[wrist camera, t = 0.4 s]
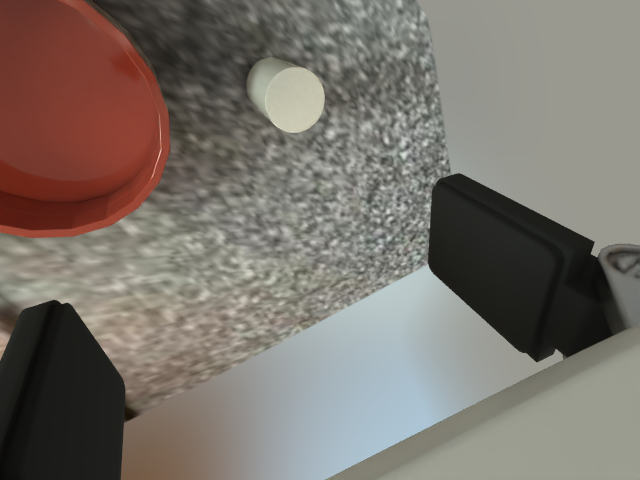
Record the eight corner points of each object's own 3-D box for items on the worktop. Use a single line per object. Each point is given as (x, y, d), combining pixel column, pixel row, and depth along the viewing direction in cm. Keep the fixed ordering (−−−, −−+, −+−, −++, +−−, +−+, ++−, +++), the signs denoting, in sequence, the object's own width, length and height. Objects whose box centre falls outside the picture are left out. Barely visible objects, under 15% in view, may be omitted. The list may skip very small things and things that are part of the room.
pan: (-194, -9, 19) (-280, -13, 15) (113, -46, 23) (106, -57, 19) (-8, 230, 28) (-32, 267, 24) (192, 175, 32) (199, 199, 28)
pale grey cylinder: (240, 63, 29) (258, 74, 24) (292, 52, 30) (320, 60, 25) (253, 119, 31) (272, 139, 26) (301, 107, 32) (328, 124, 27)
